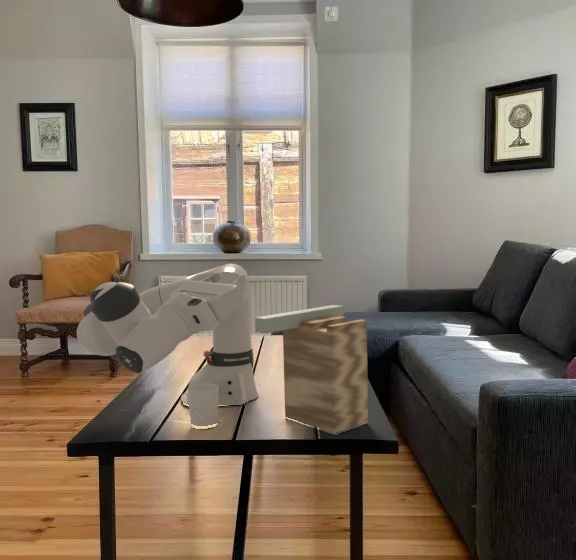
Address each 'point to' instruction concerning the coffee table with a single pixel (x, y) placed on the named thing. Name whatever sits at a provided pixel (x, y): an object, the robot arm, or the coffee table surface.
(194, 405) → the white cup
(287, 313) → the gray-green block
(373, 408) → the coffee table surface
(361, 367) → the wooden box
